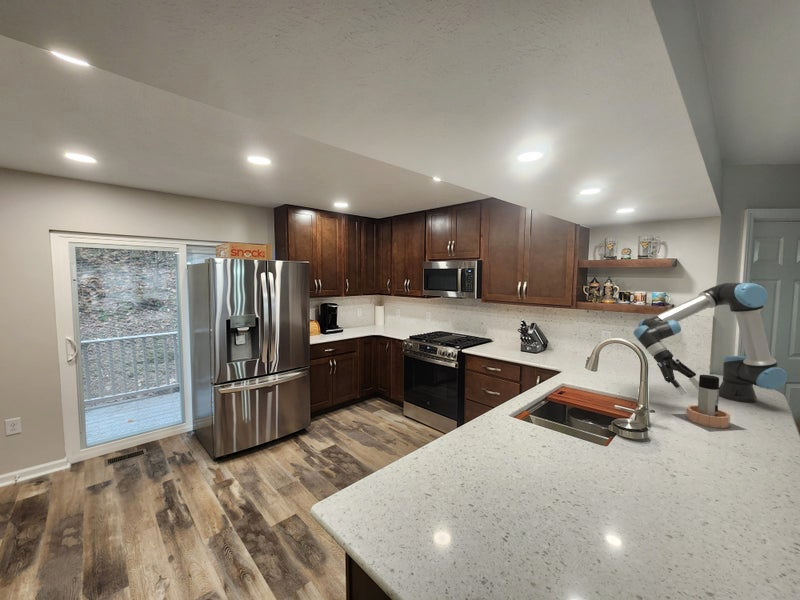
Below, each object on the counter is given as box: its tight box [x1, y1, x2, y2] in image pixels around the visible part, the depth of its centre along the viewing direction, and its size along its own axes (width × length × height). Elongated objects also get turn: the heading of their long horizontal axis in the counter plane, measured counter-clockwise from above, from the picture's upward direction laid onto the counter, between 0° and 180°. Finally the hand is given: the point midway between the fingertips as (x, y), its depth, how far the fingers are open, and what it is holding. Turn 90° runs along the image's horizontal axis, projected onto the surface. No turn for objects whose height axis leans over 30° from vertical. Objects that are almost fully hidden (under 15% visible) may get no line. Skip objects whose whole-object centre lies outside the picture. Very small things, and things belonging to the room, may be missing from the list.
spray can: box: [697, 374, 720, 417], centre depth 149 cm, size 7×7×20 cm
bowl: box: [685, 404, 731, 429], centre depth 149 cm, size 14×14×5 cm
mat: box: [670, 413, 748, 432], centre depth 149 cm, size 18×18×1 cm
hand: (693, 391), depth 154 cm, fingers open, 13 cm apart
